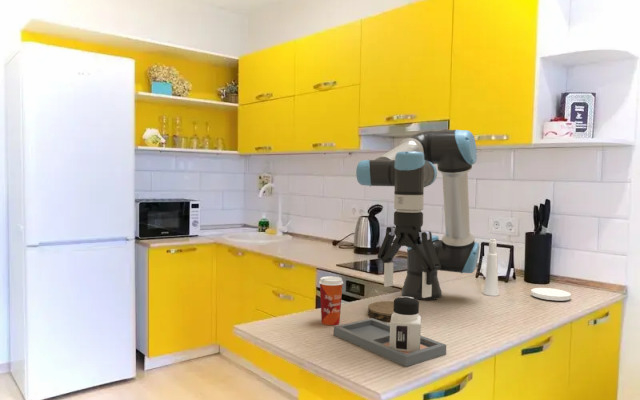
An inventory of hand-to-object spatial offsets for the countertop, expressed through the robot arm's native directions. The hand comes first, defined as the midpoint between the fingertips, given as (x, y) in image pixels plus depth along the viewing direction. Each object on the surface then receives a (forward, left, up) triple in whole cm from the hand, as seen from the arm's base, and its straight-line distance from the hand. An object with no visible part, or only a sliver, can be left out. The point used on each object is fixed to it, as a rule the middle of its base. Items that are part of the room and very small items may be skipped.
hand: (406, 291), depth 128 cm
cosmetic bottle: (-25, +75, -16) cm, 80 cm away
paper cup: (-31, -1, -16) cm, 35 cm away
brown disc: (-26, +21, -17) cm, 37 cm away
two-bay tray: (-7, 0, -16) cm, 17 cm away
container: (0, 0, -15) cm, 15 cm away
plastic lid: (-8, +90, -17) cm, 92 cm away
